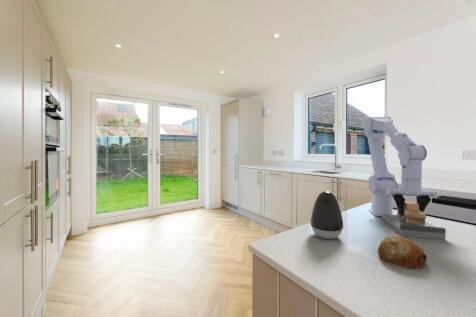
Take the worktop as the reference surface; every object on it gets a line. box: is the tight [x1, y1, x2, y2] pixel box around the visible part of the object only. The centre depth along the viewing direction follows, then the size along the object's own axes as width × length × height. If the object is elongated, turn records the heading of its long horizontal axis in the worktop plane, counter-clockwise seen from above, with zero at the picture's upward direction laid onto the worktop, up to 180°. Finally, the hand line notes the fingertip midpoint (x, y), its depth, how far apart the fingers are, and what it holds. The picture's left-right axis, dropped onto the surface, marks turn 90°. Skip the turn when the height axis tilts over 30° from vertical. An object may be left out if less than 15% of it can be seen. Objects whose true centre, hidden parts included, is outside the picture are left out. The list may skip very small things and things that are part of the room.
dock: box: [382, 214, 447, 241], centre depth 80 cm, size 18×12×4 cm, turn 163°
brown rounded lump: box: [377, 234, 428, 270], centre depth 58 cm, size 10×10×8 cm
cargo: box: [404, 200, 419, 211], centre depth 80 cm, size 4×4×2 cm
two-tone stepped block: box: [396, 206, 427, 225], centre depth 80 cm, size 10×5×4 cm, turn 163°
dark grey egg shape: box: [310, 190, 344, 240], centre depth 73 cm, size 10×10×15 cm
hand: (410, 215), depth 80 cm, fingers closed on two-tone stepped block, 5 cm apart
